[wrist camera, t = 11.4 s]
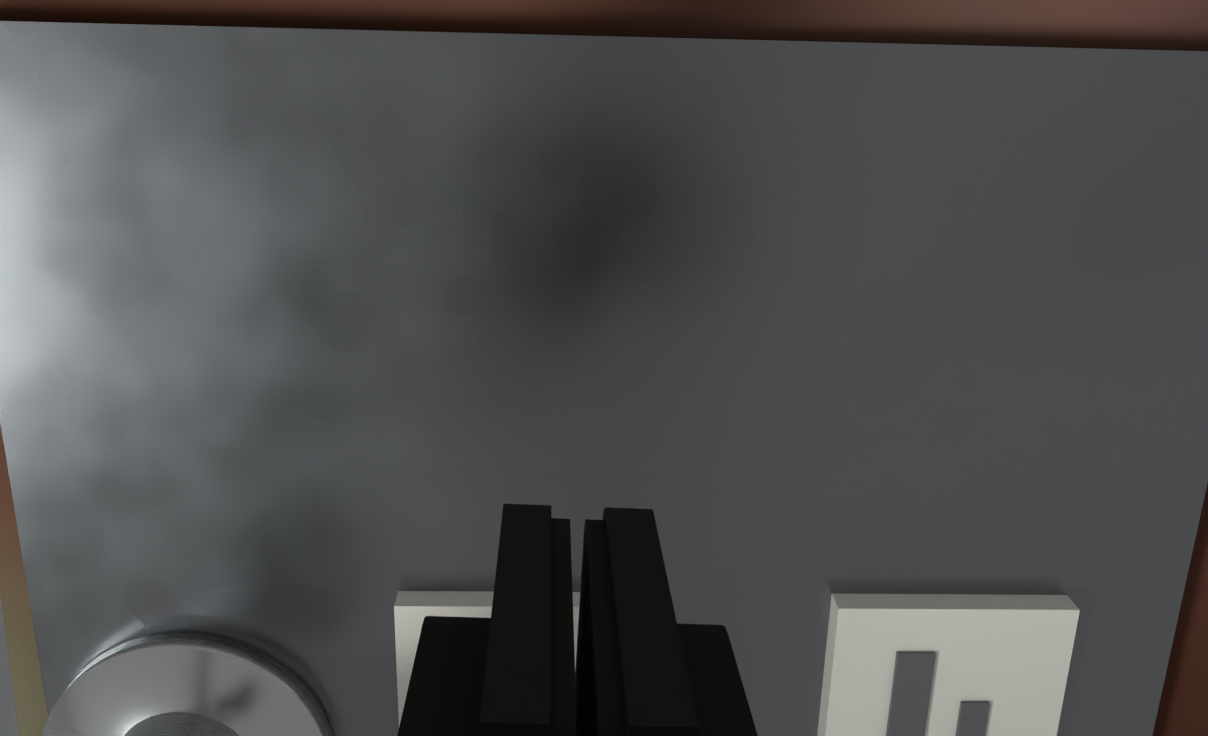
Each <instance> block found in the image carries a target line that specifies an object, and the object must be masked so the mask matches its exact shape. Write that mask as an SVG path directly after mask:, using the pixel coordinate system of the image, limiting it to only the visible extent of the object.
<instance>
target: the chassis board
mask: <svg viewBox="0 0 1208 736" xmlns="http://www.w3.org/2000/svg"><path fill="white" fill-rule="evenodd" d="M0 422H1V429H2V435H3V441H4V447H5V453H6V459H7V465H8V472H9V478H10V484H11V490H12V496H13V502H14V509H15V515H16V521H17V527H18V533H19V539H20V545H21V552H22V558H23V564H24V570H25V576H26V582H27V589H28V595H29V601H30V607H31V613H32V619H33V625H34V632H35V638H36V644H37V650H38V656H39V662H40V668H41V675H42V681H43V687H44V693H45V699H46V705H47V712H48V717H49V714H50V712H51V710H52V709H53V707H54V706H55V704H56V703H57V701H58V699H59V698H60V697H61V695H62V694H63V693H64V691H65V690H66V689H67V687H68V686H69V685H70V683H71V682H72V681H73V680H74V678H75V677H76V676H77V675H78V674H79V673H80V672H81V671H82V669H83V668H85V667H86V666H87V665H88V664H89V663H91V662H92V661H93V660H94V659H95V658H97V657H98V656H100V655H102V654H103V653H105V652H107V651H108V650H110V649H112V648H114V647H116V646H118V645H121V644H123V643H125V642H128V641H131V640H134V639H138V638H141V637H144V636H150V635H156V634H162V633H179V632H184V633H201V634H207V635H213V636H218V637H223V638H226V639H230V640H233V641H236V642H240V643H242V644H244V645H247V646H249V647H252V648H254V649H257V650H258V651H260V652H262V653H264V654H266V655H268V656H269V657H271V658H273V659H274V660H276V661H277V662H279V663H280V664H281V665H283V666H284V667H286V668H287V669H288V670H289V671H291V672H292V673H293V674H294V675H295V676H296V677H297V678H298V679H299V680H301V681H302V683H303V684H304V685H305V686H306V687H307V688H308V690H309V691H310V692H311V693H312V694H313V696H314V697H315V699H316V700H317V702H318V703H319V705H320V706H321V708H322V710H323V712H324V714H325V716H326V718H327V720H328V723H329V725H330V729H331V732H332V735H333V736H397V735H398V731H399V714H398V691H397V667H396V643H395V619H394V604H395V601H396V598H397V594H398V591H492V592H494V585H495V576H496V567H497V557H498V548H499V539H500V530H501V521H502V512H503V504H528V505H551V518H561V519H570V531H571V561H572V592H580V587H581V570H582V554H583V537H584V524H585V519H589V520H603V512H604V508H605V507H610V508H637V509H653V512H654V516H655V521H656V526H657V531H658V535H659V540H660V545H661V550H662V555H663V559H664V564H665V569H666V574H667V578H668V583H669V588H670V593H671V597H672V602H673V607H674V612H675V616H676V621H677V623H680V624H713V625H723V626H725V628H726V630H727V632H728V635H729V639H730V642H731V646H732V649H733V653H734V656H735V659H736V663H737V666H738V670H739V673H740V677H741V680H742V683H743V687H744V690H745V694H746V697H747V700H748V704H749V707H750V711H751V714H752V718H753V721H754V724H755V728H756V731H757V735H758V736H817V732H818V723H819V713H820V703H821V693H822V684H823V674H824V664H825V654H826V645H827V635H828V625H829V615H830V606H831V596H832V594H993V595H1067V596H1068V597H1069V598H1070V599H1071V600H1072V601H1073V603H1074V604H1075V605H1076V606H1077V607H1078V608H1079V609H1080V612H1079V618H1078V623H1077V628H1076V634H1075V639H1074V645H1073V650H1072V655H1071V661H1070V666H1069V672H1068V677H1067V682H1066V688H1065V693H1064V699H1063V704H1062V709H1061V715H1060V720H1059V725H1058V731H1057V736H1152V735H1153V731H1154V726H1155V721H1156V717H1157V712H1158V708H1159V703H1160V699H1161V694H1162V689H1163V685H1164V680H1165V676H1166V671H1167V667H1168V662H1169V657H1170V653H1171V648H1172V644H1173V639H1174V634H1175V630H1176V625H1177V621H1178V616H1179V612H1180V607H1181V602H1182V598H1183V593H1184V589H1185V584H1186V580H1187V575H1188V570H1189V566H1190V561H1191V557H1192V552H1193V548H1194V543H1195V538H1196V534H1197V529H1198V525H1199V520H1200V516H1201V511H1202V506H1203V502H1204V497H1205V493H1206V488H1207V484H1208V51H1189V50H1149V49H1109V48H1069V47H1030V46H990V45H950V44H910V43H871V42H831V41H791V40H752V39H712V38H672V37H632V36H593V35H553V34H513V33H473V32H434V31H394V30H354V29H315V28H275V27H235V26H195V25H156V24H116V23H76V22H36V21H0Z"/></svg>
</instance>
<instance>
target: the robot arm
mask: <svg viewBox="0 0 1208 736" xmlns="http://www.w3.org/2000/svg"><path fill="white" fill-rule="evenodd" d="M397 736H758V735H757V731H756V728H755V724H754V721H753V718H752V714H751V711H750V707H749V704H748V700H747V697H746V694H745V690H744V687H743V683H742V680H741V677H740V673H739V670H738V666H737V663H736V659H735V656H734V653H733V649H732V646H731V642H730V639H729V635H728V632H727V630H726V628H725V626H723V625H713V624H680V623H677V621H676V616H675V612H674V607H673V602H672V597H671V593H670V588H669V583H668V578H667V574H666V569H665V564H664V559H663V555H662V550H661V545H660V540H659V535H658V531H657V526H656V521H655V516H654V512H653V509H637V508H610V507H605V508H604V512H603V520H589V519H585V524H584V537H583V554H582V570H581V587H580V603H579V620H578V636H577V653H576V669H575V652H574V622H573V592H572V561H571V531H570V519H561V518H551V505H528V504H503V512H502V521H501V530H500V539H499V548H498V557H497V567H496V576H495V585H494V594H493V603H492V612H491V618H480V617H447V616H426V617H425V618H424V621H423V624H422V628H421V633H420V637H419V642H418V646H417V651H416V655H415V660H414V664H413V668H412V673H411V677H410V682H409V686H408V691H407V695H406V700H405V704H404V708H403V713H402V717H401V722H400V726H399V731H398V735H397Z"/></svg>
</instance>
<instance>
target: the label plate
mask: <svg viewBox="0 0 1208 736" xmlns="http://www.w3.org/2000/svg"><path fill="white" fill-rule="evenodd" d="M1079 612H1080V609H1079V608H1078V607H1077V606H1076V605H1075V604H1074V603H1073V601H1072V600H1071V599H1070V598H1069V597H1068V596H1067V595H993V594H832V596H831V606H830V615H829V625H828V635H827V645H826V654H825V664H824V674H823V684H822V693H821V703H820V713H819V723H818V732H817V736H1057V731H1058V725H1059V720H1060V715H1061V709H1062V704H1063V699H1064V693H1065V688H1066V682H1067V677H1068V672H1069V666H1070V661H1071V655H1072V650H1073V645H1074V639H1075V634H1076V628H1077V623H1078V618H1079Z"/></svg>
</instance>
